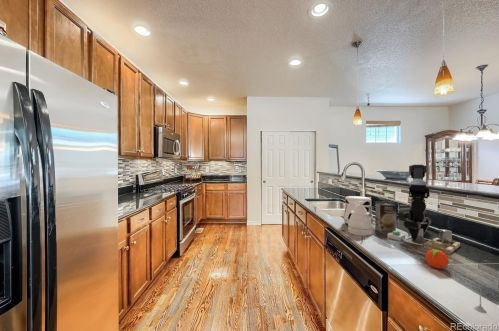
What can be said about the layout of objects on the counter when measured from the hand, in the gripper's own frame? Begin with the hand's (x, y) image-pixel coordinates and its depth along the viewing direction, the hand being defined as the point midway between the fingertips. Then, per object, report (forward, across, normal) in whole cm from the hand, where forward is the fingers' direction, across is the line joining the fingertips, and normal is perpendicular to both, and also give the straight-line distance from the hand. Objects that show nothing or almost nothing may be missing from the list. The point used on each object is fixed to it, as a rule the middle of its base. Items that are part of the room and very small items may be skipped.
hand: (417, 238), depth 116 cm
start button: (0, +4, -8) cm, 9 cm away
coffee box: (+2, -8, -19) cm, 21 cm away
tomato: (+2, +28, +15) cm, 31 cm away
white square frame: (+2, +4, -8) cm, 9 cm away
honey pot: (+2, +8, -26) cm, 27 cm away
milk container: (+2, -6, -35) cm, 36 cm away
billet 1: (+2, 0, 0) cm, 2 cm away
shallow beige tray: (+2, 0, +10) cm, 10 cm away
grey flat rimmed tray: (+2, 0, 0) cm, 2 cm away
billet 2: (+1, -4, +10) cm, 11 cm away
